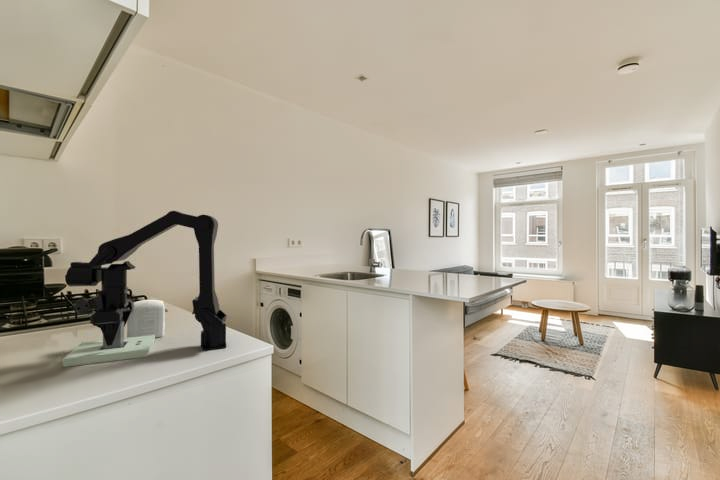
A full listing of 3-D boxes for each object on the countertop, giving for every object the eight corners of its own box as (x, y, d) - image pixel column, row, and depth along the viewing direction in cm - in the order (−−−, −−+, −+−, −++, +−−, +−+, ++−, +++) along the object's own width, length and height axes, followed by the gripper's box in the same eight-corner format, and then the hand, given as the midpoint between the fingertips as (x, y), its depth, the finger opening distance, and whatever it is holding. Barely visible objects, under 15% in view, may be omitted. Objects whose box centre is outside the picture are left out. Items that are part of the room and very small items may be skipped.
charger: (124, 348, 94) (124, 320, 94) (120, 352, 91) (120, 324, 91) (107, 350, 93) (107, 322, 93) (102, 355, 89) (103, 325, 89)
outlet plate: (155, 339, 104) (155, 332, 104) (147, 356, 89) (147, 348, 89) (84, 346, 96) (84, 339, 96) (62, 366, 82) (62, 358, 82)
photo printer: (164, 333, 110) (164, 297, 110) (165, 337, 106) (165, 299, 106) (127, 338, 104) (127, 300, 104) (126, 342, 101) (126, 302, 100)
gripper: (89, 282, 97) (89, 334, 97) (64, 292, 80) (64, 355, 80) (134, 280, 101) (134, 330, 101) (119, 290, 84) (119, 349, 85)
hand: (114, 340), depth 92 cm, fingers open, 9 cm apart
